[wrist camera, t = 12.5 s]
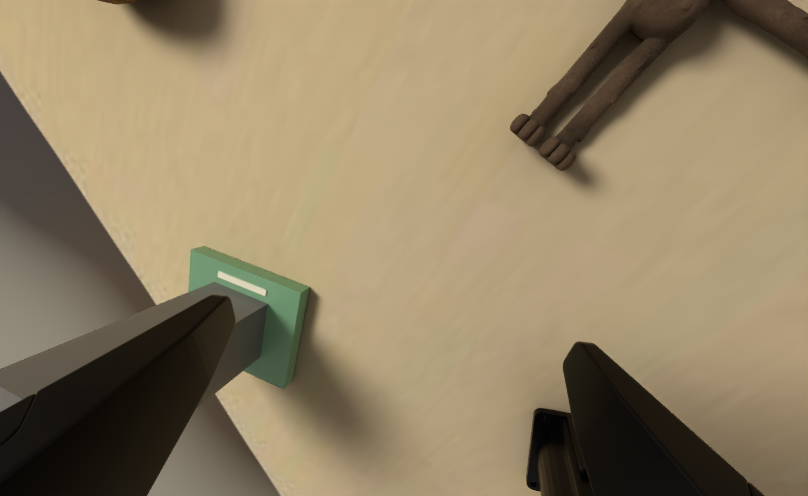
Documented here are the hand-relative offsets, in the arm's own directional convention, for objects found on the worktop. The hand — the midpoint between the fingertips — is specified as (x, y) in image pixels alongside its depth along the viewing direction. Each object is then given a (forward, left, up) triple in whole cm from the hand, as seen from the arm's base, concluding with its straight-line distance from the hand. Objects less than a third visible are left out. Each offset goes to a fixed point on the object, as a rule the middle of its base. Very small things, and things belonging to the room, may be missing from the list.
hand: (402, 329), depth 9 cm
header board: (-8, +17, -13) cm, 23 cm away
